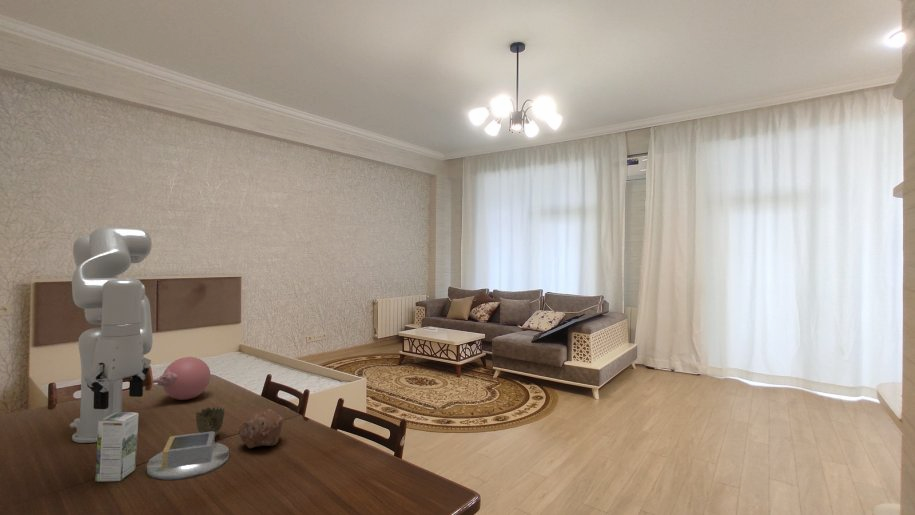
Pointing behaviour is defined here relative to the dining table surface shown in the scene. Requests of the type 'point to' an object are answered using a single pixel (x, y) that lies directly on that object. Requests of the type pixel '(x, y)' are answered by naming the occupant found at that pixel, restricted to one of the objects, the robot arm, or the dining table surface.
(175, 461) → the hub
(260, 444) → the decorative rock
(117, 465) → the syrup box
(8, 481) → the dining table surface
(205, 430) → the dark green lumpy clump
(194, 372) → the inflated balloon
